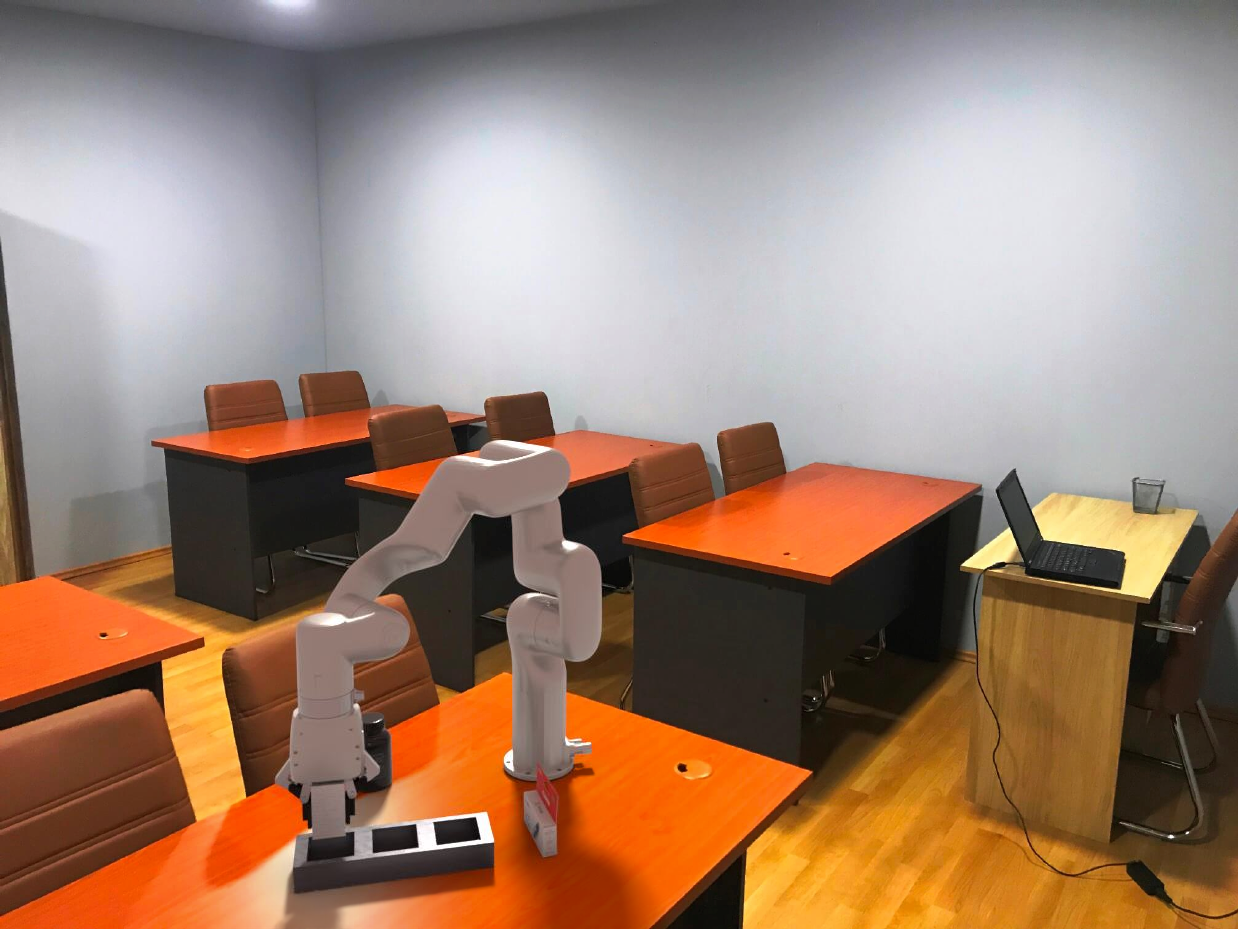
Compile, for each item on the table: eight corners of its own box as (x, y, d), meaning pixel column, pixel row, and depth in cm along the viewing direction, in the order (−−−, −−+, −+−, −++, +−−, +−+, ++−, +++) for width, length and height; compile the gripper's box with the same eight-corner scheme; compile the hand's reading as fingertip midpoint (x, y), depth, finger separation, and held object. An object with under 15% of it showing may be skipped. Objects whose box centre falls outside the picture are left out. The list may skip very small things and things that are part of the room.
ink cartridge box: (542, 858, 143) (543, 798, 141) (522, 821, 153) (523, 764, 152) (558, 855, 144) (559, 795, 142) (537, 818, 154) (538, 762, 152)
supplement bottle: (398, 775, 167) (396, 710, 165) (384, 794, 160) (383, 727, 158) (360, 772, 168) (358, 708, 166) (345, 792, 161) (343, 725, 159)
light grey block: (346, 819, 140) (344, 768, 139) (345, 836, 136) (344, 783, 134) (313, 823, 139) (312, 771, 138) (312, 839, 135) (310, 787, 133)
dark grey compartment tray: (486, 835, 149) (486, 812, 148) (494, 867, 141) (494, 842, 140) (297, 859, 141) (296, 834, 141) (293, 894, 133) (292, 867, 133)
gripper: (387, 686, 140) (389, 802, 143) (264, 696, 136) (269, 815, 139) (388, 707, 133) (390, 829, 136) (259, 718, 128) (264, 843, 131)
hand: (329, 820), depth 137 cm, fingers closed on light grey block, 4 cm apart
